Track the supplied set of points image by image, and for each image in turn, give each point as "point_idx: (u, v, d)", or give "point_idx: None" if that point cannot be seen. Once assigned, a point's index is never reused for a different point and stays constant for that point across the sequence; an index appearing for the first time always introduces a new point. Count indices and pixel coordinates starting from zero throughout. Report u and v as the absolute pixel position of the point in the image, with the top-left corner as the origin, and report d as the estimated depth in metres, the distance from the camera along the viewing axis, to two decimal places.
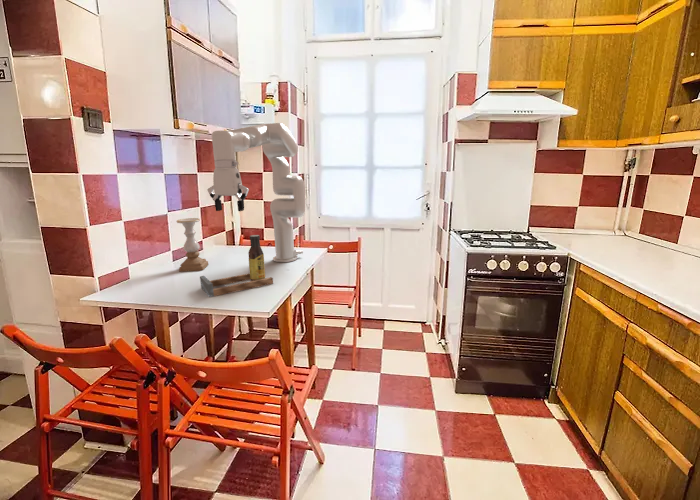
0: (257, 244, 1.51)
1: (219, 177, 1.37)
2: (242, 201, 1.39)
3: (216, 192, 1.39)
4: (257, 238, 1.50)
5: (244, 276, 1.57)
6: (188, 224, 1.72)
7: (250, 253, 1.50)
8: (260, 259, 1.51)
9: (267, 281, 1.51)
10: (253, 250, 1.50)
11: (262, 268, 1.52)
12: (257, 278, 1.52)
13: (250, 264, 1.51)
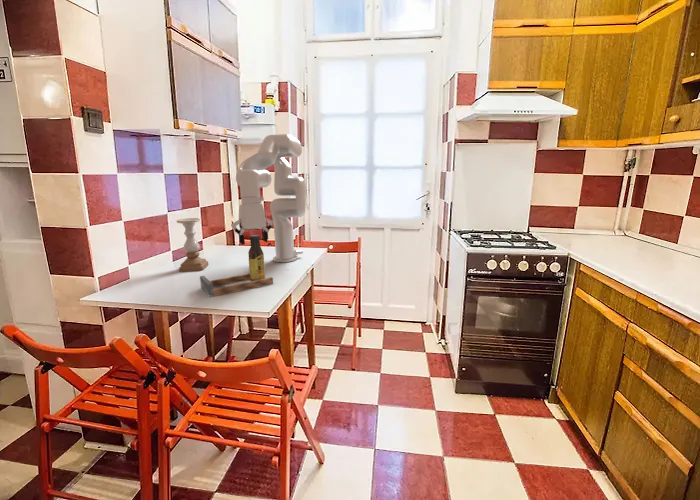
0: (257, 244, 1.51)
1: (250, 212, 1.46)
2: None
3: (245, 226, 1.46)
4: (257, 238, 1.50)
5: (244, 276, 1.57)
6: (188, 224, 1.72)
7: (250, 253, 1.50)
8: (260, 259, 1.51)
9: (267, 281, 1.51)
10: (253, 250, 1.50)
11: (262, 268, 1.52)
12: (257, 278, 1.52)
13: (250, 264, 1.51)
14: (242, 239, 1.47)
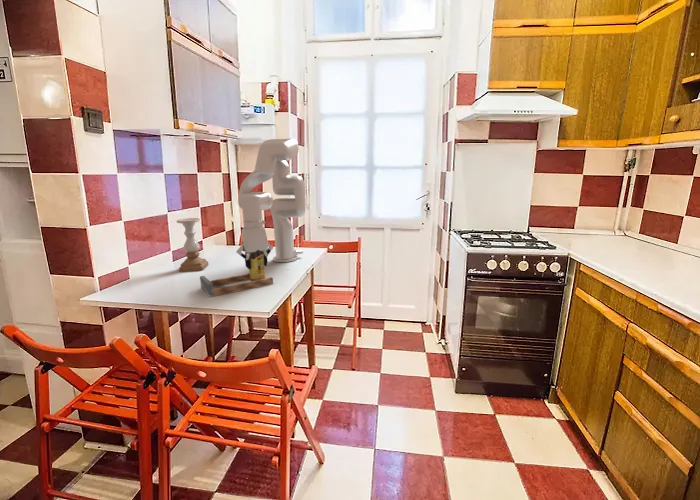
0: None
1: (253, 236, 1.48)
2: None
3: (248, 250, 1.48)
4: None
5: (244, 276, 1.57)
6: (188, 224, 1.72)
7: (250, 253, 1.50)
8: (260, 259, 1.51)
9: (267, 281, 1.51)
10: None
11: (262, 268, 1.52)
12: (257, 278, 1.52)
13: None
14: (248, 264, 1.50)
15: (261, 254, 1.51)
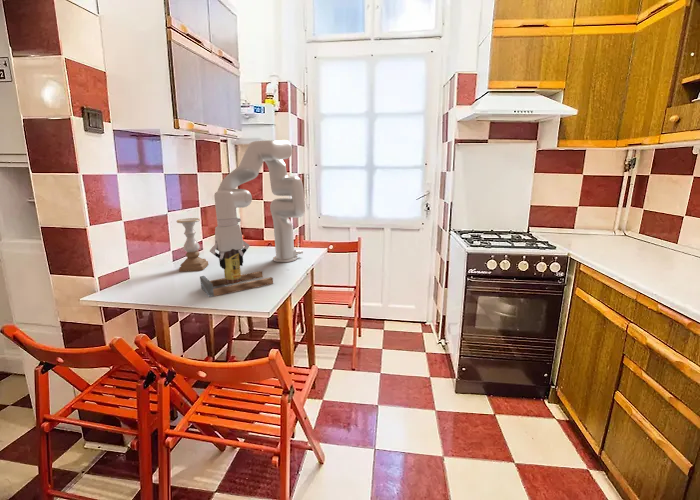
0: None
1: (227, 234, 1.42)
2: None
3: (222, 249, 1.42)
4: None
5: (244, 276, 1.57)
6: (188, 224, 1.72)
7: None
8: (235, 258, 1.45)
9: (267, 281, 1.51)
10: None
11: (237, 268, 1.46)
12: (232, 278, 1.46)
13: None
14: (222, 263, 1.44)
15: (236, 253, 1.45)
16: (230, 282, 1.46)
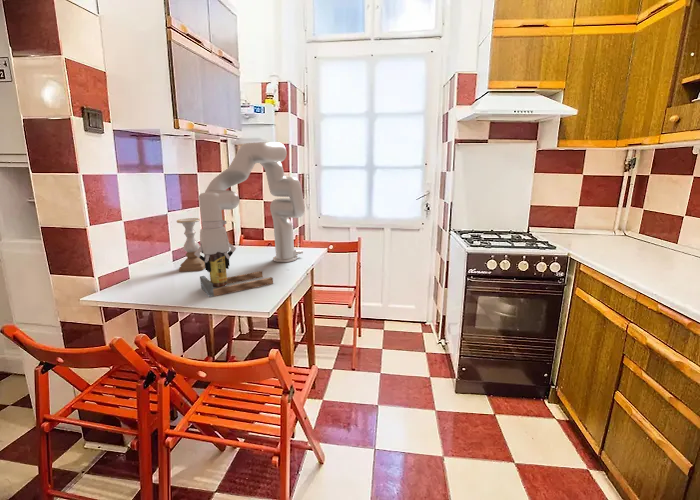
0: None
1: (212, 237, 1.39)
2: None
3: (207, 252, 1.39)
4: None
5: (244, 276, 1.57)
6: (188, 224, 1.72)
7: None
8: (220, 261, 1.42)
9: (267, 281, 1.51)
10: None
11: (223, 271, 1.43)
12: (217, 282, 1.43)
13: (210, 267, 1.42)
14: (208, 266, 1.41)
15: (222, 256, 1.42)
16: (216, 285, 1.43)
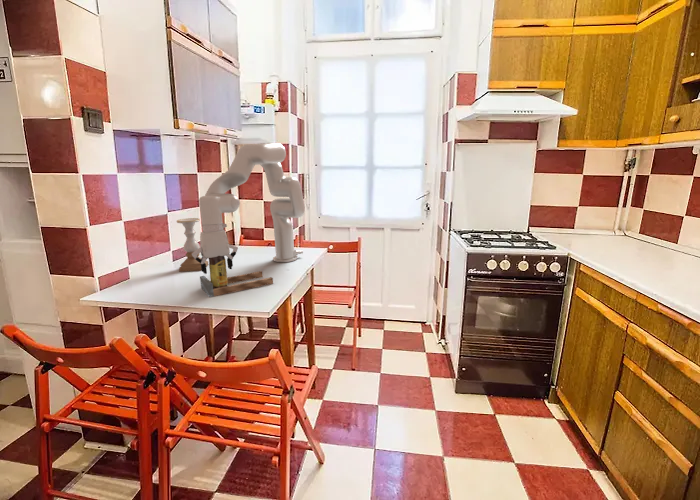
0: None
1: (212, 240, 1.39)
2: None
3: (207, 255, 1.40)
4: None
5: (244, 276, 1.57)
6: (188, 224, 1.72)
7: (210, 259, 1.42)
8: (221, 265, 1.42)
9: (267, 281, 1.51)
10: None
11: (223, 274, 1.44)
12: (218, 285, 1.43)
13: (210, 270, 1.43)
14: (204, 268, 1.41)
15: (222, 260, 1.43)
16: None
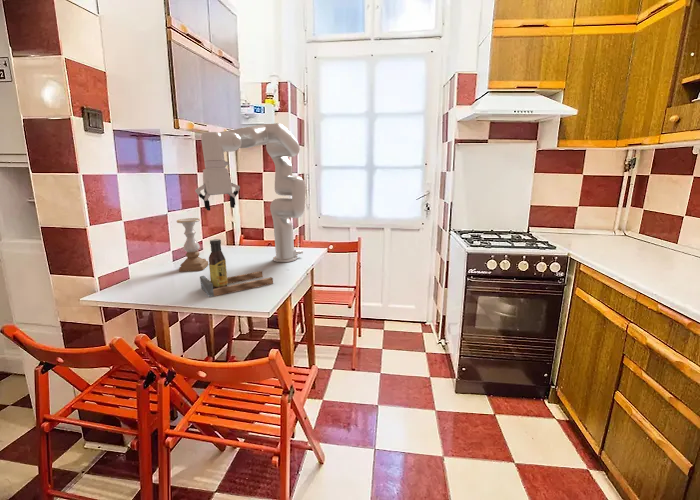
0: (218, 249, 1.42)
1: (215, 177, 1.41)
2: None
3: (210, 192, 1.42)
4: (217, 243, 1.42)
5: (244, 276, 1.57)
6: (188, 224, 1.72)
7: (210, 259, 1.42)
8: (221, 265, 1.42)
9: (267, 281, 1.51)
10: (213, 256, 1.41)
11: (223, 274, 1.44)
12: (218, 285, 1.43)
13: (210, 270, 1.43)
14: (207, 205, 1.43)
15: (222, 260, 1.43)
16: None
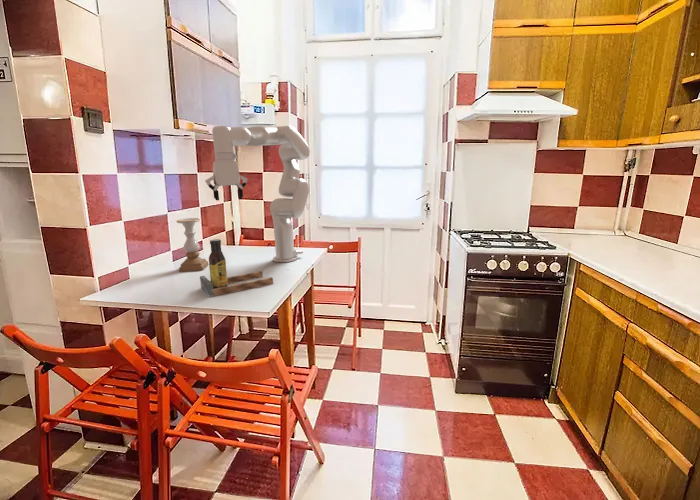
0: (218, 249, 1.42)
1: (224, 168, 1.50)
2: None
3: (219, 182, 1.50)
4: (217, 243, 1.42)
5: (244, 276, 1.57)
6: (188, 224, 1.72)
7: (210, 259, 1.42)
8: (221, 265, 1.42)
9: (267, 281, 1.51)
10: (213, 256, 1.41)
11: (223, 274, 1.44)
12: (218, 285, 1.43)
13: (210, 270, 1.43)
14: (216, 195, 1.51)
15: (222, 260, 1.43)
16: None
